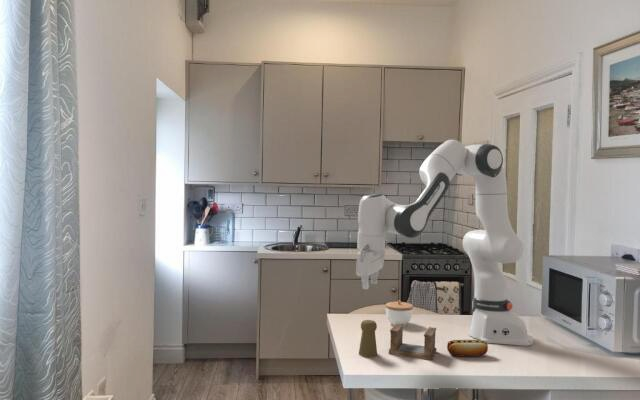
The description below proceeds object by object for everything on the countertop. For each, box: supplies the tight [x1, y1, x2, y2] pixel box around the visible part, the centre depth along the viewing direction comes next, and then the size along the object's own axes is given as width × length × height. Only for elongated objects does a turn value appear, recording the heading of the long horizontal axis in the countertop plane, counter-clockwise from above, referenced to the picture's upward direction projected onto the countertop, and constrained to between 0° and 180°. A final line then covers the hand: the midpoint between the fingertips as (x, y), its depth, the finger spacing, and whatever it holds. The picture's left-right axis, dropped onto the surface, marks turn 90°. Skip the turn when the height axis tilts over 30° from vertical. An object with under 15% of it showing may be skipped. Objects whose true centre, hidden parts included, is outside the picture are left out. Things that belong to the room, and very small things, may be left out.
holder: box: [388, 323, 437, 361], centre depth 169 cm, size 14×9×8 cm
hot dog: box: [446, 339, 489, 357], centre depth 167 cm, size 5×13×5 cm, turn 93°
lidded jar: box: [385, 299, 414, 327], centre depth 203 cm, size 11×11×9 cm
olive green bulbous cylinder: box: [358, 319, 378, 358], centre depth 166 cm, size 6×6×11 cm
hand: (369, 286), depth 165 cm, fingers open, 8 cm apart
